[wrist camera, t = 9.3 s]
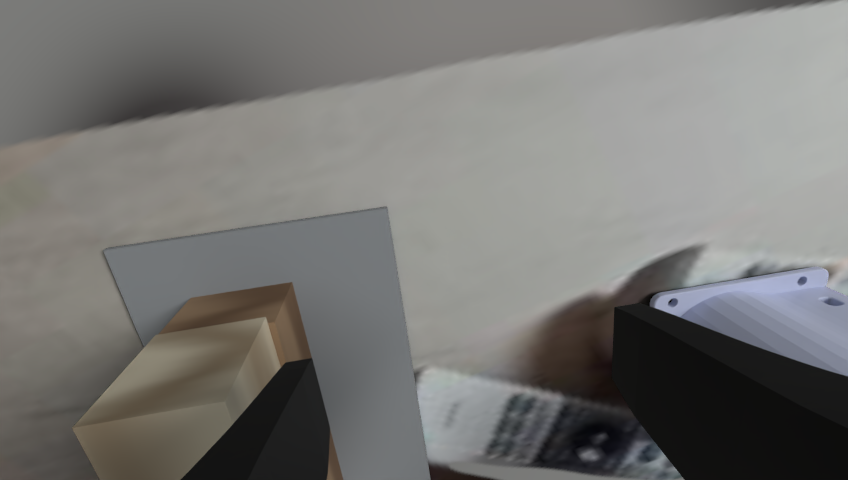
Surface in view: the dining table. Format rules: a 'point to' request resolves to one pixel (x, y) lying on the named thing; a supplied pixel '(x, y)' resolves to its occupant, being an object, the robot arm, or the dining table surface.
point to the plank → (177, 400)
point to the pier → (250, 316)
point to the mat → (307, 319)
